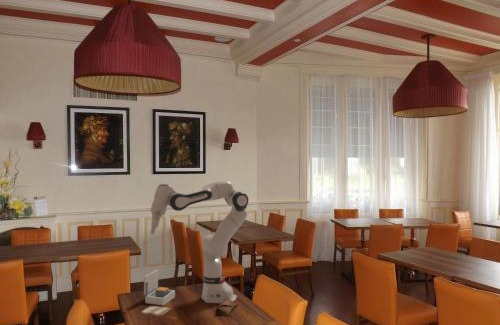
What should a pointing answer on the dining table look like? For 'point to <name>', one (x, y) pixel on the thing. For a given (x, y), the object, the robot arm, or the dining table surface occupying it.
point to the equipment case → (151, 287)
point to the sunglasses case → (226, 307)
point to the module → (161, 292)
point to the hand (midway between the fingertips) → (152, 232)
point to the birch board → (156, 310)
